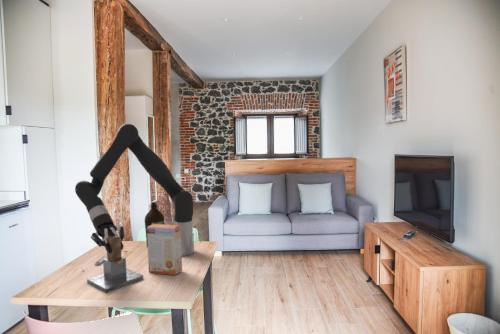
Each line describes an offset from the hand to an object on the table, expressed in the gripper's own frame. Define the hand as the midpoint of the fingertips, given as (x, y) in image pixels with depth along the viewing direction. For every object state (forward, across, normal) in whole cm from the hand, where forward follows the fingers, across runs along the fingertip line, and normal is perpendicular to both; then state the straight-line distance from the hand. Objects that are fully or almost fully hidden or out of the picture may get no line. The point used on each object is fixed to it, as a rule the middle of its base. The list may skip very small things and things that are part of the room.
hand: (116, 250), depth 128 cm
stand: (+8, 0, +11) cm, 13 cm away
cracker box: (+15, +18, +4) cm, 24 cm away
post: (+7, 0, +9) cm, 12 cm away
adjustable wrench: (-15, +13, +34) cm, 40 cm away
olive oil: (-10, +38, +29) cm, 49 cm away
